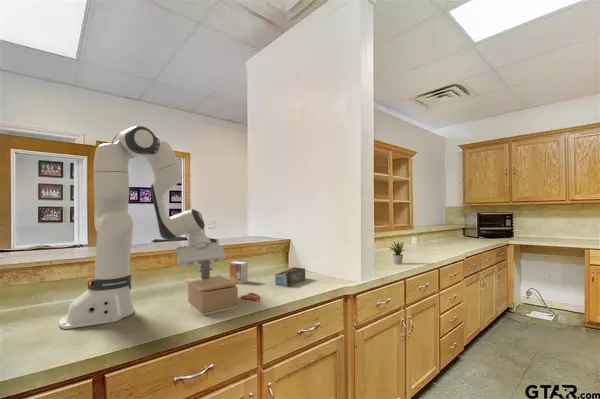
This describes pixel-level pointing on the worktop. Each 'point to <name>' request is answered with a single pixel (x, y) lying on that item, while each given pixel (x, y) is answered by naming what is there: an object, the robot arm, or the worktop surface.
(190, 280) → the carton lid
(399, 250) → the house plant
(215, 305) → the carton
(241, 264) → the small box
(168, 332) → the worktop surface
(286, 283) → the beverage carton
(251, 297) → the scissors
